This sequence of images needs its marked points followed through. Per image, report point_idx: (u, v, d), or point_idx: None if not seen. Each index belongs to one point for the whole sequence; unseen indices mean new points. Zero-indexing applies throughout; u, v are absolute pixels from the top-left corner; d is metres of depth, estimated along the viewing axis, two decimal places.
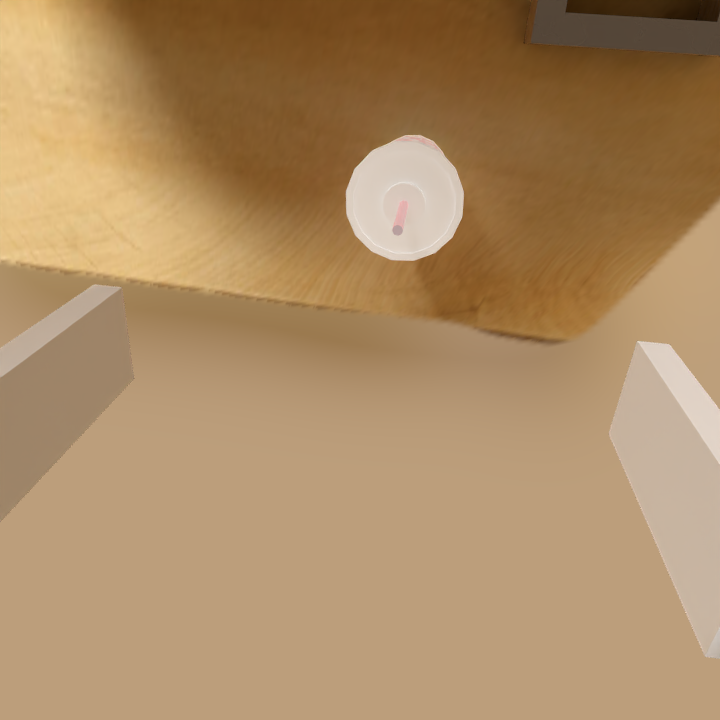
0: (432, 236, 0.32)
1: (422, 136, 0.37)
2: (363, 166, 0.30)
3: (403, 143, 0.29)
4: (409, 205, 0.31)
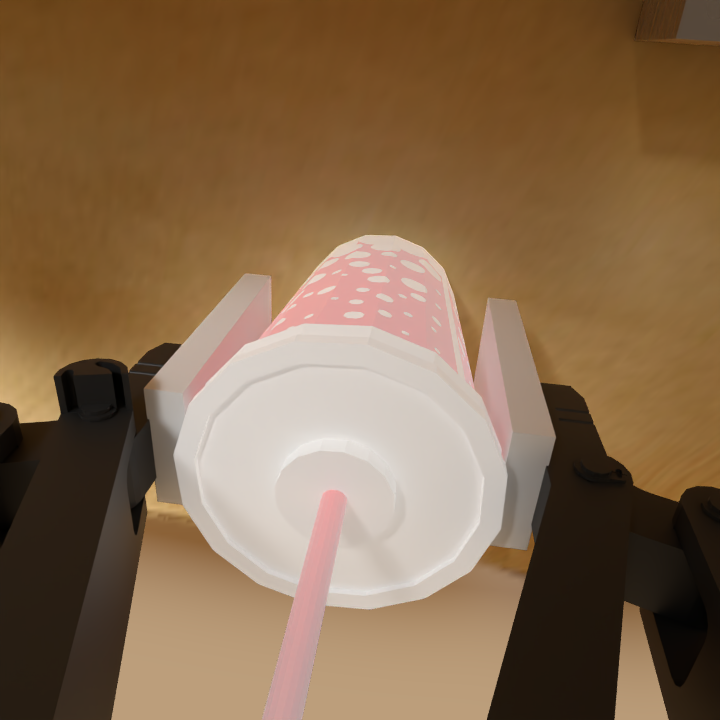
0: (418, 561, 0.12)
1: (400, 240, 0.18)
2: (213, 398, 0.10)
3: (325, 345, 0.10)
4: (350, 502, 0.11)
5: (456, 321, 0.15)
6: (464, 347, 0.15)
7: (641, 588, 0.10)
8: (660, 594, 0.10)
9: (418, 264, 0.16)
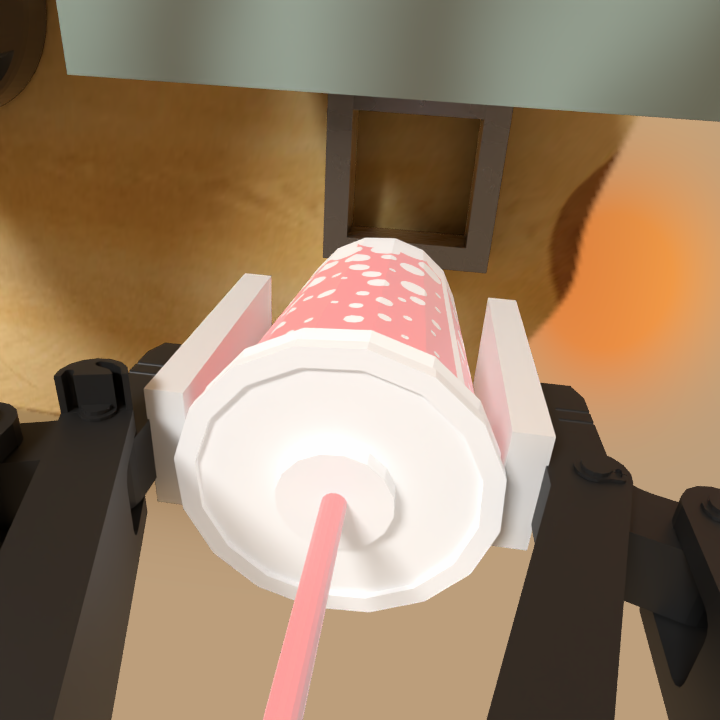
0: (418, 564, 0.12)
1: (400, 242, 0.18)
2: (214, 402, 0.10)
3: (324, 350, 0.10)
4: (350, 505, 0.11)
5: (456, 324, 0.15)
6: (464, 350, 0.15)
7: (640, 587, 0.10)
8: (660, 594, 0.10)
9: (418, 267, 0.16)
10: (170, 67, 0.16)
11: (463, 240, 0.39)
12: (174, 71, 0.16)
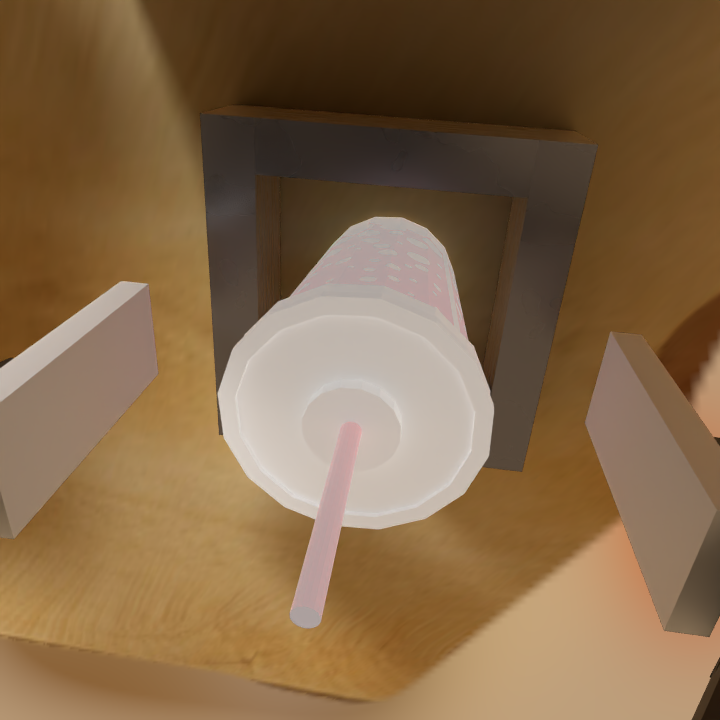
0: (419, 487, 0.14)
1: (406, 221, 0.20)
2: (253, 344, 0.13)
3: (346, 299, 0.12)
4: (364, 432, 0.13)
5: (455, 291, 0.17)
6: (461, 313, 0.17)
7: None
8: None
9: (422, 241, 0.18)
10: None
11: None
12: None
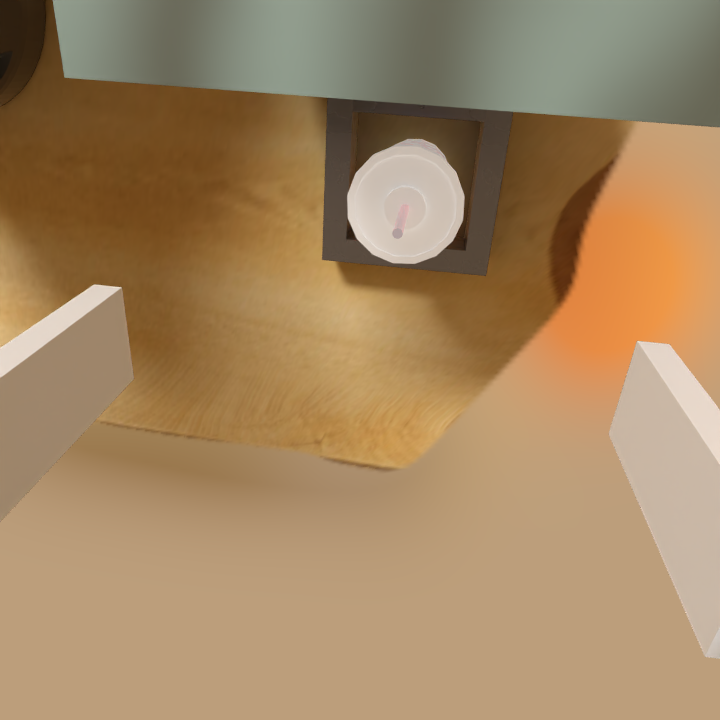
0: (433, 239, 0.32)
1: (424, 140, 0.38)
2: (364, 170, 0.30)
3: (404, 147, 0.30)
4: (410, 209, 0.31)
5: None
6: None
7: None
8: None
9: (433, 146, 0.36)
10: (168, 71, 0.16)
11: (463, 242, 0.39)
12: (172, 75, 0.16)
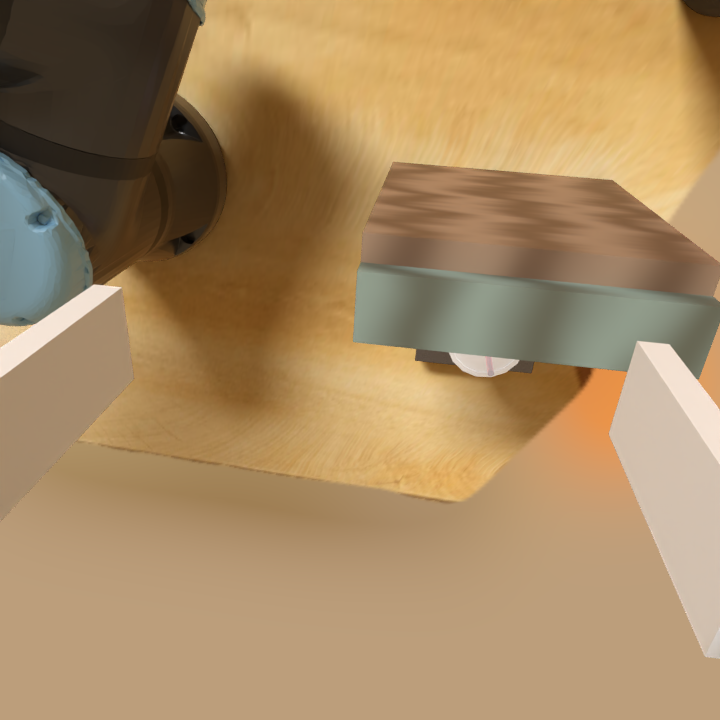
0: (504, 362, 0.48)
1: None
2: None
3: None
4: None
5: None
6: None
7: None
8: None
9: None
10: (407, 341, 0.32)
11: None
12: (409, 343, 0.32)
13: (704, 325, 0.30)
